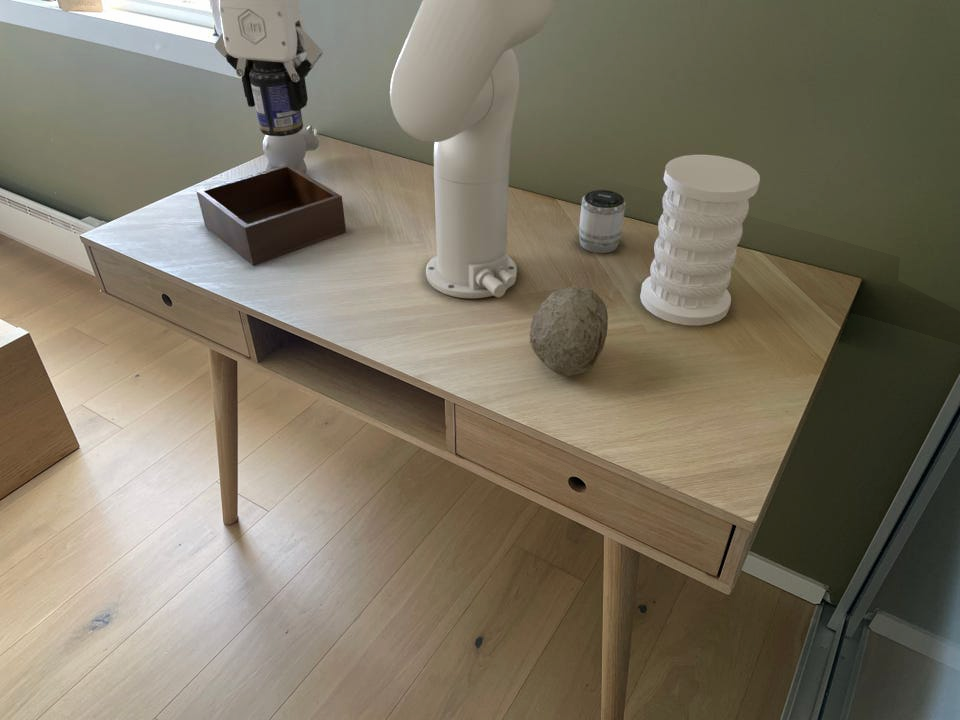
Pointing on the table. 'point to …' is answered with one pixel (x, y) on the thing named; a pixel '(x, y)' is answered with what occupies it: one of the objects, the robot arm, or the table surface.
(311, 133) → the toy rhinoceros
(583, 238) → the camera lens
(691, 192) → the decorative container
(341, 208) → the box
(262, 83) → the pill bottle
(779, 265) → the table surface
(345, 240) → the table surface
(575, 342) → the decorative stone
